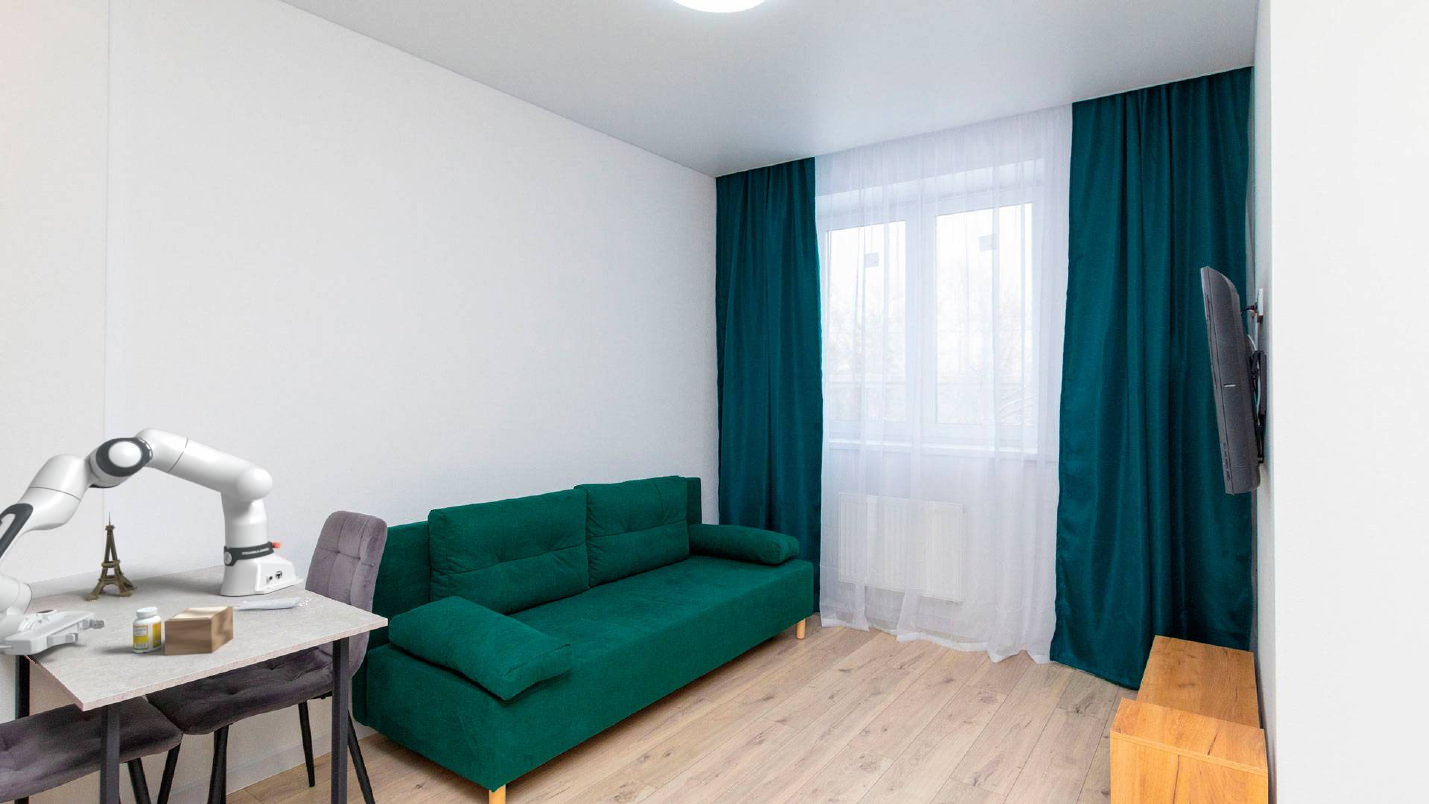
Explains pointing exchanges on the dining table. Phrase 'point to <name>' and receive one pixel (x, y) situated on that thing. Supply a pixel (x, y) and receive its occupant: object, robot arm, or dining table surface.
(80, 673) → the dining table surface
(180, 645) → the walnut block
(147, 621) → the supplement bottle
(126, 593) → the eiffel tower
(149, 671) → the dining table surface
